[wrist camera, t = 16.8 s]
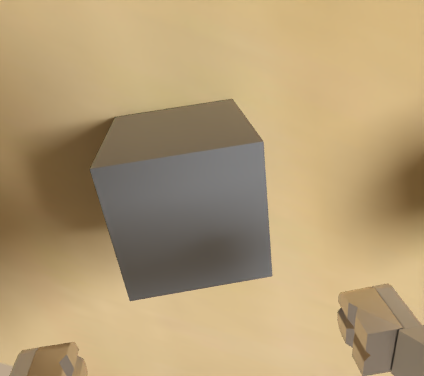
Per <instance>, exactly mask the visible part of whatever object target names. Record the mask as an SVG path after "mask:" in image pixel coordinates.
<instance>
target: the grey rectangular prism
mask: <svg viewBox="0 0 424 376" xmlns="http://www.w3.org/2000/svg"><path fill="white" fill-rule="evenodd" d="M90 172H91V175H92V178H93V182H94V185H95V188H96V191H97V195H98V198H99V201H100V205H101V208H102V211H103V214H104V218H105V221H106V224H107V228H108V231H109V234H110V237H111V241H112V244H113V247H114V251H115V254H116V257H117V260H118V264H119V267H120V270H121V274H122V277H123V280H124V283H125V287H126V290H127V293H128V297H129V300H130V301H133V300H139V299H145V298H151V297H156V296H162V295H168V294H173V293H179V292H185V291H191V290H196V289H202V288H208V287H213V286H219V285H225V284H231V283H236V282H242V281H248V280H253V279H259V278H265V277H271V276H272V264H271V249H270V234H269V219H268V203H267V188H266V173H265V158H264V143H263V140H262V139H261V137H260V136H259V135H258V133H257V132H256V131H255V129H254V128H253V126H252V125H251V124H250V122H249V121H248V120H247V118H246V117H245V115H244V114H243V113H242V111H241V110H240V109H239V107H238V106H237V104H236V103H235V102H234V100H233V99H229V100H223V101H216V102H210V103H203V104H197V105H190V106H184V107H177V108H171V109H164V110H158V111H151V112H145V113H138V114H132V115H125V116H119V117H115V118H114V120H113V122H112V124H111V126H110V128H109V130H108V133H107V135H106V137H105V139H104V141H103V143H102V145H101V147H100V149H99V151H98V153H97V155H96V157H95V159H94V161H93V163H92V165H91V167H90Z"/></svg>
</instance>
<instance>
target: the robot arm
mask: <svg viewBox="0 0 424 376" xmlns="http://www.w3.org/2000/svg"><path fill="white" fill-rule="evenodd" d="M338 302H339V304H340V306H341V308H340V310H339V311H338V319H337V320H338V325H339V329H340V332H341V335H342V337H343V339H344V341H345V343H346V344H348V345H349V346H351V347H352V348H353V351H352V357H353V359H354V360H355V362H356V364H357V366H358V368H359V370H360V372H361V374H362V376H367V375H373V374H379V373H385V372H391V371H392V372H391V373H392V374H393V375H394V376H424V325H422V324H421V323H420V322H419V320H418V319H417V318H416V317H415V315H414V314H413V313H412V311H411V310H410V309H409V308H408V306H407V305H406V304H405V302H404V301H403V300H402V299H401V297H400V296H399V295H398V293H397V292H396V291H395V290H394V288H393V287H392V286H391V285H389V284H383V285H378V286H373V287H366V288H361V289H356V290H351V291H346V292H341V293H340V294H339V297H338ZM78 351H79V348H78V347H77V345H76V343H75V342H70V343H63V344H57V345H51V346H44V347H39V348H33V349H27V350H22V351H21V352H20V353H19V355H18V356H17V359H16V361H15V364H14V366H13V368H12V371H11V373H10V376H87V367H86V363H85V361H84V359H83V358H81V357H79V356H77V355H78Z"/></svg>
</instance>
